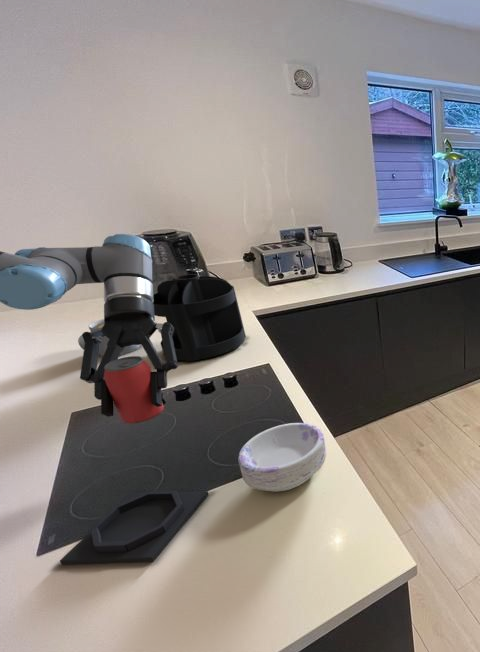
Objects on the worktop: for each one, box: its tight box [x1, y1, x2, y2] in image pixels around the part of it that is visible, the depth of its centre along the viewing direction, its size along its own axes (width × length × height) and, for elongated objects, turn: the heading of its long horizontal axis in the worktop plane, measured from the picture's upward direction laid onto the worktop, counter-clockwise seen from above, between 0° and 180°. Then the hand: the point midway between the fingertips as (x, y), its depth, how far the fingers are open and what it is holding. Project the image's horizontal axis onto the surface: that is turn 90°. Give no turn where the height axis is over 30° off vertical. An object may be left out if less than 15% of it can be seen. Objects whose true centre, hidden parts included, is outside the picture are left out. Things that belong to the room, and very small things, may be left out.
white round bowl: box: [237, 422, 327, 493], centre depth 82 cm, size 15×15×8 cm
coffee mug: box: [77, 318, 141, 357], centre depth 129 cm, size 13×10×10 cm
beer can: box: [104, 355, 165, 425], centre depth 78 cm, size 7×7×12 cm
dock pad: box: [59, 490, 209, 566], centre depth 70 cm, size 14×14×2 cm
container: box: [153, 273, 247, 362], centre depth 131 cm, size 22×23×25 cm
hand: (132, 409), depth 76 cm, fingers closed on beer can, 6 cm apart
